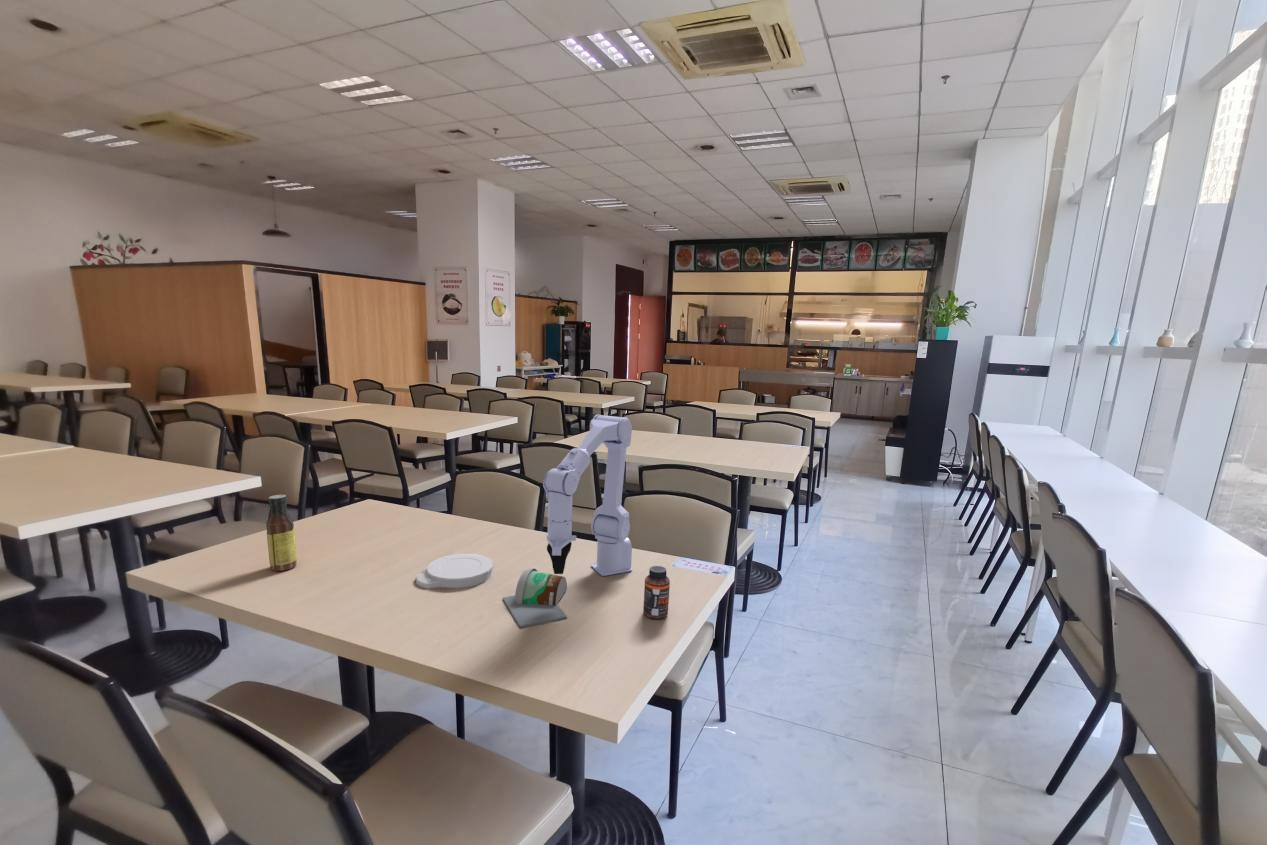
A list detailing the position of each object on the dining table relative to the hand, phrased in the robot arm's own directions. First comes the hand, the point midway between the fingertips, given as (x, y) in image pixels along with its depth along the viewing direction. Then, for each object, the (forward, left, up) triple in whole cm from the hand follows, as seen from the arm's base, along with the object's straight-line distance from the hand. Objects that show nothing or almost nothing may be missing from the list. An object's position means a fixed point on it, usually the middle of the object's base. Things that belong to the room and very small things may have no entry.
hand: (558, 572), depth 132 cm
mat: (+6, 0, -8) cm, 10 cm away
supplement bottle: (-19, +14, -8) cm, 25 cm away
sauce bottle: (+61, -49, -8) cm, 78 cm away
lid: (+20, -26, -8) cm, 34 cm away
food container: (-2, -2, -4) cm, 5 cm away
